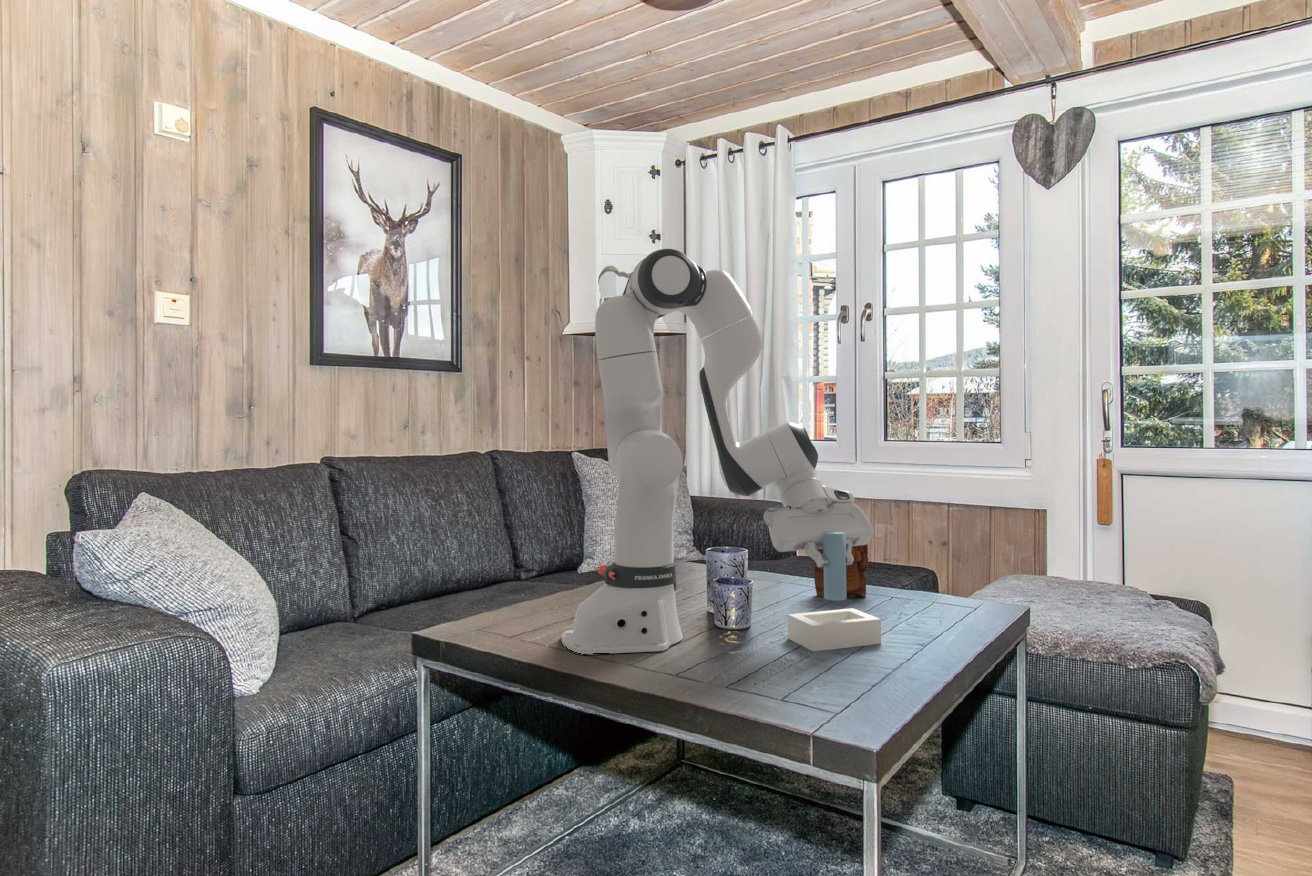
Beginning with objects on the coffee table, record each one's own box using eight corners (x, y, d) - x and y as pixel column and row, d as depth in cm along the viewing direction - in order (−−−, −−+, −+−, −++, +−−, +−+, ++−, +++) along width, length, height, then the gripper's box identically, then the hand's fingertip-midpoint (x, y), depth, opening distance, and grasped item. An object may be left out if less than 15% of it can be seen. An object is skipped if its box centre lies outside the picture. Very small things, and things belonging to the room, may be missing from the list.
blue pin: (831, 601, 142) (830, 535, 141) (820, 596, 146) (818, 532, 145) (850, 599, 143) (849, 533, 143) (838, 594, 147) (837, 530, 147)
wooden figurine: (821, 600, 178) (821, 520, 177) (812, 594, 184) (812, 517, 184) (871, 598, 179) (871, 519, 179) (860, 592, 186) (860, 516, 185)
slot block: (813, 651, 138) (813, 625, 138) (788, 638, 146) (788, 614, 146) (881, 643, 142) (880, 618, 142) (852, 631, 151) (852, 608, 151)
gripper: (765, 497, 147) (791, 558, 138) (859, 492, 154) (890, 549, 145) (755, 519, 151) (780, 578, 142) (847, 512, 158) (876, 569, 149)
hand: (836, 564), depth 144 cm, fingers closed on blue pin, 4 cm apart
